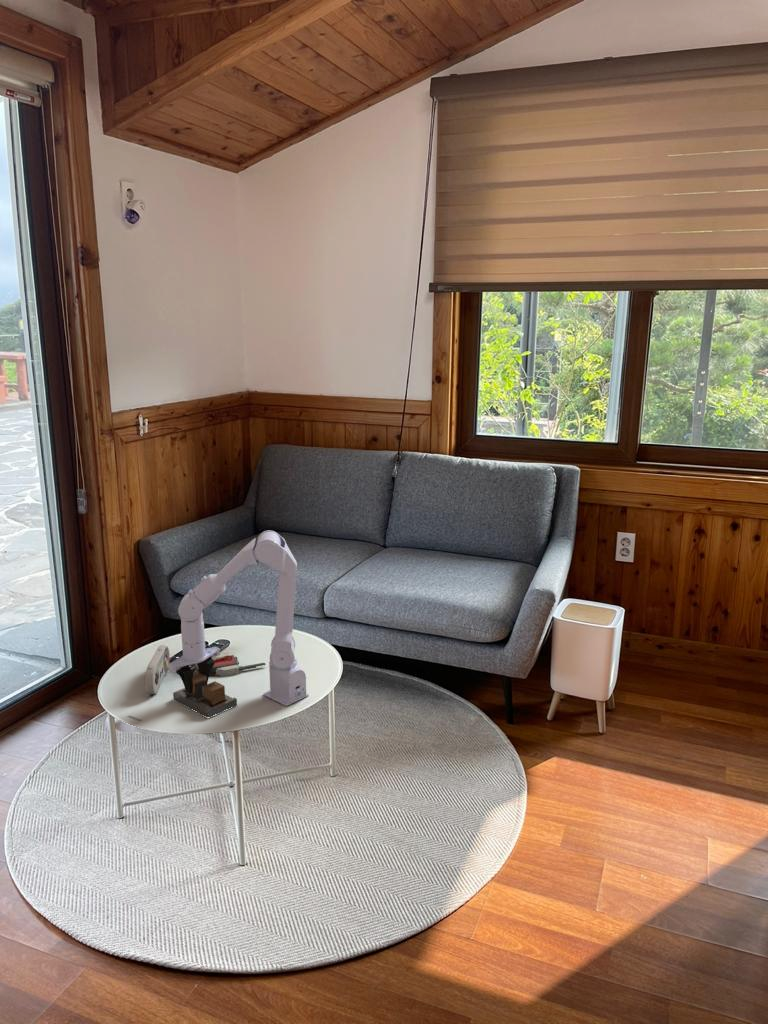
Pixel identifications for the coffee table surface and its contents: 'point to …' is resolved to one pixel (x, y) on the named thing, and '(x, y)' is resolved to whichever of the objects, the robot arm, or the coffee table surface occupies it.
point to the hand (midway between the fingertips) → (196, 688)
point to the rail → (207, 699)
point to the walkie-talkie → (227, 665)
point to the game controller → (157, 669)
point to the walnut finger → (197, 685)
